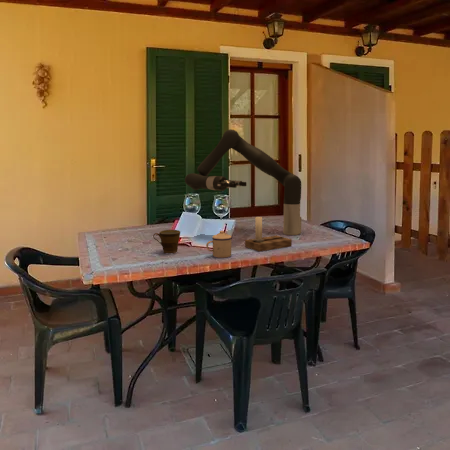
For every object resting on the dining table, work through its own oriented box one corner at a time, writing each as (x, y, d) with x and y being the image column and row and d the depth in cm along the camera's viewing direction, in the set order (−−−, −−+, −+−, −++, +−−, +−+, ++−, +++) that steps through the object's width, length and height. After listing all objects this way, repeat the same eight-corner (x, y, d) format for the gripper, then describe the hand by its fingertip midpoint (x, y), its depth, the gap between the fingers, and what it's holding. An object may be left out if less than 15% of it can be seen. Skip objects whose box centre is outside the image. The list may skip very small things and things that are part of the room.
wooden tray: (276, 241, 242) (276, 235, 241) (291, 246, 232) (291, 239, 231) (245, 246, 232) (245, 239, 231) (259, 251, 222) (259, 244, 221)
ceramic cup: (181, 249, 228) (180, 229, 226) (180, 254, 218) (179, 233, 216) (155, 249, 227) (154, 229, 226) (152, 255, 218) (151, 234, 216)
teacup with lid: (228, 252, 221) (228, 228, 219) (234, 257, 212) (234, 232, 210) (204, 254, 217) (203, 230, 215) (209, 259, 209) (208, 234, 207)
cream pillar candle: (259, 244, 231) (259, 216, 229) (264, 245, 228) (264, 217, 225) (252, 245, 229) (253, 217, 227) (257, 246, 226) (257, 218, 223)
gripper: (207, 177, 241) (232, 178, 231) (224, 175, 252) (249, 176, 242) (208, 191, 242) (232, 193, 232) (225, 189, 253) (249, 190, 243)
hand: (241, 184), depth 237 cm, fingers open, 8 cm apart
